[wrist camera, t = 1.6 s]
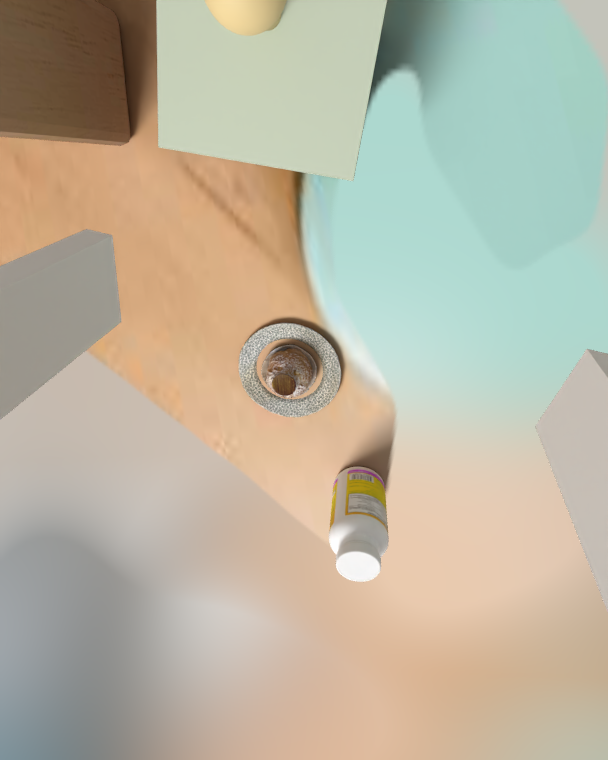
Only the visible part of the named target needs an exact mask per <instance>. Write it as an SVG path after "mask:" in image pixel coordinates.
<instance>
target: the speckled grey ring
mask: <svg viewBox="0 0 608 760" xmlns="http://www.w3.org/2000/svg"><path fill="white" fill-rule="evenodd" d="M279 339H296V340H299V341H302V342H304V343H306V344H307V345H309V346H310V347H312V348H313V349H314V350H315V351H316V353H317V354H318V356H319V357H320V359H321V362H322V365H323V378H322V381H321V383H320V385H319V387H318V388H317V389H316V390H315V391H314V392H313V393H312V394H310V395H309V396H307V397H304V398H301V399H294V400H292V399H284V398H292V397H296V396H299V395H301V394H304V393H305V392H307V391H308V390H309V387H311V386H312V384H313V383H314V382H315V381H314V380H315V379H316V374H317V367H316V363H315V361H314V359H313V358H312V357H311V355H310V354H308V352H306V351H305V350H303V349H302V348H300V347H298V346H295V345H285V346H282V347H278V348H275V349H274V350H273V351H271V353H270V354H269V355H268V356H267V357H266V359H265V360H264V362H263V365H262V370H261V374H262V377H263V380H264V381H265V383H266V384H267V385H268V387H269V388H270V389H271V390H272V391H273V392H274V393H276V394H277V395H279V396H281V397H284V398H280V397H278V396H275V395H274V394H272V393H271V392H269V391H268V390H267V389H266V388H265V387H264V386H263V385H262V383H261V381H260V380H259V377H258V374H257V369H256V365H257V359H258V356H259V354H260V352H261V351H262V350H263V349H264V347H265V346H267V345H268V344H269V343H271V342H273V341H275V340H279ZM288 348H290V349H288ZM286 349H288V350H286ZM239 375H240V378H241V381H242V384H243V387H244V389H245V391H246V392H247V394H248V395H249V396H250V397H251V399H252V400H253V401H255V402H256V403H257V404H258V405H260V406H262V407H263V408H265V409H266V410H268V411H270V412H272V413H275V414H278V415H281V416H286V417H302V416H306V415H309V414H312V413H315V412H318V411H319V410H321V409H322V408H324V407H325V406H326V405H328V404H329V403H330V402H331V401H332V399H333V398H334V397H335V395H336V393H337V391H338V389H339V385H340V380H341V367H340V363H339V359H338V356H337V354H336V352H335V350H334V348H333V347H332V346H331V344H330V343H329V342H328V341H327V340H326V339H325V338H324V337H323V336H322V335H320V334H319V333H317V332H316V331H314V330H312V329H310V328H308V327H305V326H303V325H299V324H294V323H277V324H273V325H269V326H267V327H264V328H262V329H260V330H258V331H257V332H256V333H254V334H253V335H252V336H251V337H250V338H249V339H248V340H247V341H246V343H245V344H244V346H243V348H242V350H241V353H240V357H239Z"/></svg>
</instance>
